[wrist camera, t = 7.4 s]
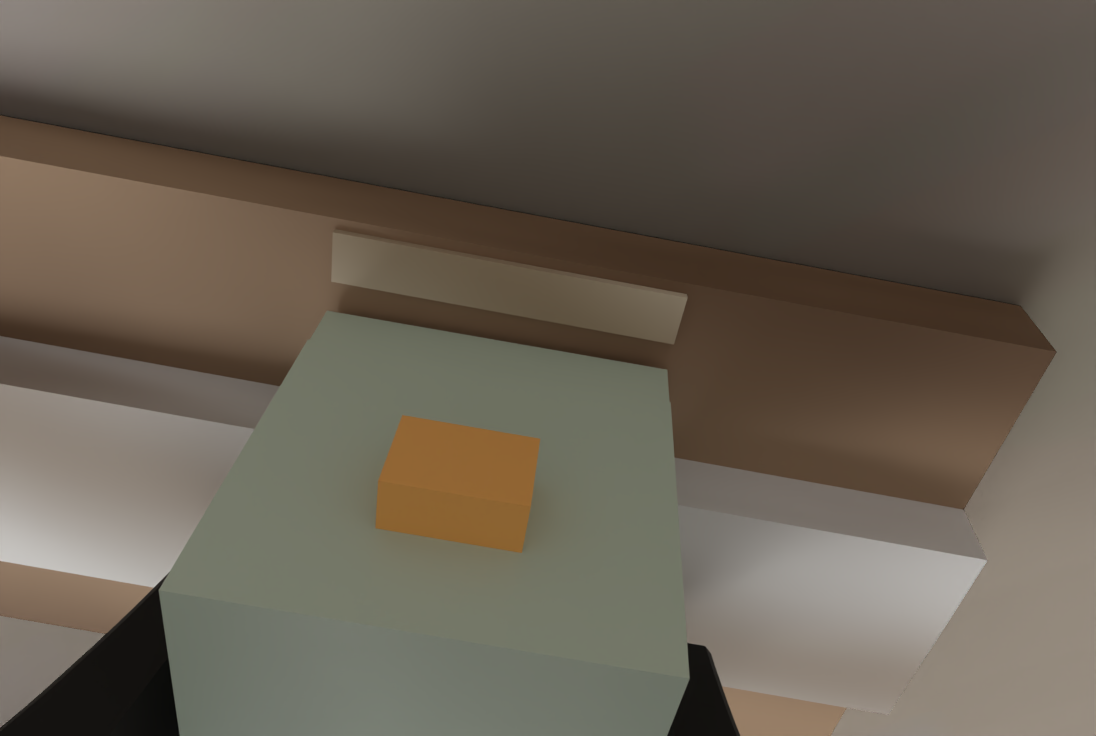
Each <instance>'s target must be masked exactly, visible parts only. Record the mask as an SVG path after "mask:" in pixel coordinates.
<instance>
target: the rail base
mask: <svg viewBox="0 0 1096 736" xmlns="http://www.w3.org/2000/svg"><path fill="white" fill-rule="evenodd" d="M326 311H332V312H338V313H344V314H350V315H355V316H361V317H367V318H373V319H378V320H384V321H390V322H396V323H401V324H407V325H413V326H419V327H424V328H430V329H436V330H442V331H447V332H453V333H459V334H465V335H471V336H476V337H482V338H488V339H494V340H499V341H505V342H511V343H517V344H522V345H528V346H534V347H540V348H545V349H551V350H557V351H563V352H568V353H574V354H580V355H586V356H591V357H597V358H603V359H609V360H614V361H620V362H626V363H632V364H638V365H643V366H649V367H655V368H661V369H666V370H667V372H668V387H669V402H671V414H672V429H673V443H674V458H675V473H676V487H677V502H678V516H679V531H680V545H681V560H682V575H683V589H684V604H685V618H686V633H687V643H691V644H697V645H702V646H706V648H707V649H708V650H709V652H710V653H711V655H712V658H713V661H714V664H715V667H716V670H717V673H718V676H719V679H720V682H721V685H722V688H723V691H724V693H725V696H726V699H727V702H728V705H729V707H730V710H731V713H732V715H733V718H734V721H735V723H736V726H737V728H738V731H739V734H740V736H830V735H831V734H832V732H833V730H834V729H835V727H836V725H837V724H838V722H839V720H840V718H841V717H842V715H843V713H844V712H845V710H846V708H850V709H856V710H862V711H868V712H873V713H879V714H885V715H889V714H890V712H891V711H892V709H893V708H894V706H895V704H896V703H897V701H898V700H899V698H900V697H901V695H902V694H903V692H904V690H905V689H906V687H907V686H908V684H909V683H910V681H911V679H912V678H913V676H914V675H915V673H916V672H917V670H918V668H919V667H920V665H921V664H922V662H923V661H924V659H925V658H926V656H927V654H928V653H929V651H930V650H931V648H932V647H933V645H934V643H935V642H936V640H937V639H938V637H939V636H940V634H941V632H942V631H943V629H944V628H945V626H946V625H947V623H948V622H949V620H950V618H951V617H952V615H953V614H954V612H955V611H956V609H957V607H958V606H959V604H960V603H961V601H962V600H963V598H964V596H965V595H966V593H967V592H968V590H969V589H970V587H971V586H972V584H973V582H974V581H975V579H976V578H977V576H978V575H979V573H980V571H981V570H982V568H983V567H984V565H985V564H986V562H987V558H986V556H985V554H984V552H983V549H982V547H981V545H980V543H979V541H978V539H977V537H976V535H975V533H974V531H973V528H972V526H971V524H970V522H969V520H968V518H967V516H966V514H965V512H964V508H965V506H966V505H967V503H968V501H969V500H970V498H971V496H972V494H973V493H974V491H975V489H976V488H977V486H978V484H979V483H980V481H981V479H982V478H983V476H984V474H985V472H986V471H987V469H988V467H989V466H990V464H991V462H992V461H993V459H994V457H995V455H996V454H997V452H998V450H999V449H1000V447H1001V445H1002V444H1003V442H1004V440H1005V438H1006V437H1007V435H1008V433H1009V432H1010V430H1011V428H1012V427H1013V425H1014V423H1015V422H1016V420H1017V418H1018V416H1019V415H1020V413H1021V411H1022V410H1023V408H1024V406H1025V405H1026V403H1027V401H1028V399H1029V398H1030V396H1031V394H1032V393H1033V391H1034V389H1035V388H1036V386H1037V384H1038V382H1039V381H1040V379H1041V377H1042V376H1043V374H1044V372H1045V371H1046V369H1047V367H1048V366H1049V364H1050V362H1051V360H1052V359H1053V357H1054V355H1055V354H1056V351H1055V349H1054V348H1053V347H1052V345H1051V344H1050V343H1049V342H1048V340H1047V339H1046V338H1045V337H1044V335H1043V334H1042V333H1041V331H1040V330H1039V329H1038V328H1037V326H1036V325H1035V324H1034V322H1033V321H1032V320H1031V319H1030V317H1029V316H1028V315H1027V314H1026V312H1025V311H1024V310H1023V308H1022V307H1021V306H1018V305H1013V304H1007V303H1002V302H997V301H991V300H986V299H981V298H975V297H970V296H964V295H959V294H954V293H948V292H943V291H938V290H932V289H927V288H922V287H916V286H911V285H906V284H900V283H895V282H890V281H884V280H879V279H873V278H868V277H863V276H857V275H852V274H847V273H841V272H836V271H831V270H825V269H820V268H815V267H809V266H804V265H798V264H793V263H788V262H782V261H777V260H772V259H766V258H761V257H756V256H750V255H745V254H740V253H734V252H729V251H724V250H718V249H713V248H707V247H702V246H697V245H691V244H686V243H681V242H675V241H670V240H665V239H659V238H654V237H649V236H643V235H638V234H632V233H627V232H622V231H616V230H611V229H606V228H600V227H595V226H590V225H584V224H579V223H574V222H568V221H563V220H558V219H552V218H547V217H541V216H536V215H531V214H525V213H520V212H515V211H509V210H504V209H499V208H493V207H488V206H483V205H477V204H472V203H466V202H461V201H456V200H450V199H445V198H440V197H434V196H429V195H424V194H418V193H413V192H408V191H402V190H397V189H391V188H386V187H381V186H375V185H370V184H365V183H359V182H354V181H349V180H343V179H338V178H333V177H327V176H322V175H317V174H311V173H306V172H300V171H295V170H290V169H284V168H279V167H274V166H268V165H263V164H258V163H252V162H247V161H242V160H236V159H231V158H225V157H220V156H215V155H209V154H204V153H199V152H193V151H188V150H183V149H177V148H172V147H167V146H161V145H156V144H151V143H145V142H140V141H134V140H129V139H124V138H118V137H113V136H108V135H102V134H97V133H92V132H86V131H81V130H76V129H70V128H65V127H59V126H54V125H49V124H43V123H38V122H33V121H27V120H22V119H17V118H11V117H6V116H1V115H0V616H5V617H11V618H17V619H23V620H28V621H34V622H40V623H46V624H52V625H58V626H63V627H69V628H75V629H81V630H87V631H92V632H98V633H104V634H106V633H108V632H109V631H110V630H111V629H112V628H113V627H114V626H115V625H116V624H117V623H118V622H119V621H120V620H121V619H122V618H123V617H124V616H125V615H126V614H127V613H129V612H130V611H131V610H132V609H133V608H134V607H135V606H136V605H137V604H138V603H139V602H140V601H141V600H142V599H143V598H144V597H145V596H146V595H147V594H148V593H149V592H150V591H151V590H152V589H153V588H154V587H155V586H156V585H157V584H158V583H159V582H160V581H161V580H162V579H163V578H164V577H165V576H166V575H167V574H168V573H169V572H170V570H171V569H172V567H173V565H174V564H175V562H176V560H177V559H178V557H179V555H180V553H181V552H182V550H183V548H184V547H185V545H186V543H187V542H188V540H189V538H190V537H191V535H192V533H193V532H194V530H195V528H196V527H197V525H198V523H199V522H200V520H201V518H202V517H203V515H204V513H205V511H206V510H207V508H208V506H209V505H210V503H211V501H212V500H213V498H214V496H215V495H216V493H217V491H218V490H219V488H220V486H221V485H222V483H223V481H224V480H225V478H226V476H227V475H228V473H229V471H230V469H231V468H232V466H233V464H234V463H235V461H236V459H237V458H238V456H239V454H240V453H241V451H242V449H243V448H244V446H245V444H246V443H247V441H248V439H249V438H250V436H251V434H252V433H253V431H254V429H255V427H256V426H257V424H258V422H259V421H260V419H261V417H262V416H263V414H264V412H265V411H266V409H267V407H268V406H269V404H270V402H271V401H272V399H273V397H274V396H275V394H276V392H277V391H278V389H279V387H280V385H281V384H282V382H283V380H284V379H285V377H286V375H287V374H288V372H289V370H290V369H291V367H292V365H293V364H294V362H295V360H296V359H297V357H298V355H299V354H300V352H301V350H302V348H303V347H304V345H305V343H306V342H307V340H310V338H311V337H312V335H313V333H314V332H315V330H316V328H317V327H318V325H319V323H320V322H321V320H322V318H323V316H324V315H325V313H326Z"/></svg>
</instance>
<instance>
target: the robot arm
mask: <svg viewBox="0 0 1096 736" xmlns="http://www.w3.org/2000/svg"><path fill="white" fill-rule="evenodd" d="M168 574H169V573H168ZM168 574H167V575H168ZM167 575H166V576H165V577H164V578H163V579H162V580H161V581H160V582H159V583H158V584H157V585H156V586H155V587H154V588H153V589H152V590H151V591H150V592H149V593H148V594H147V595H146V596H145V597H144V598H143V599H142V600H141V601H140V602H139V603H138V604H137V605H136V606H135V607H134V608H133V609H132V610H131V611H130V612H129V613H127V614H126V615H125V616H124V617H123V618H122V619H121V620H120V621H119V622H118V623H117V624H116V625H115V626H114V627H113V628H112V629H111V630H110V631H109V632H108V633H106V634H105V635H104V636H103V637H102V638H101V639H100V640H99V641H98V642H97V643H96V644H95V645H94V646H93V647H92V648H91V649H89V650H88V651H87V652H86V653H85V654H84V655H83V656H82V657H81V658H79V659H78V660H77V661H76V662H75V663H74V664H73V665H72V666H71V667H70V668H68V669H67V670H66V671H65V672H64V673H63V674H62V675H61V676H60V677H58V678H57V679H56V680H55V681H54V682H53V683H52V684H51V685H50V686H48V687H47V688H46V689H45V690H44V691H43V692H42V693H41V694H40V695H38V696H37V697H36V698H35V699H34V700H33V701H32V702H30V703H29V704H28V705H27V706H26V707H25V708H24V709H22V710H21V711H20V712H19V713H18V714H16V715H15V716H14V717H13V718H12V719H10V720H9V721H8V722H7V723H6V724H4V725H3V726H2V727H1V728H0V736H180V734H179V727H178V720H177V714H176V707H175V700H174V693H173V686H172V679H171V672H170V665H169V658H168V651H167V645H166V638H165V631H164V624H163V617H162V610H161V603H160V596H159V589H160V587H161V585H162V584H163V582H164V580H165V579H166V577H167ZM687 647H688V662H689V677H690V679H689V682H688V684H687V687H686V689H685V692H684V694H683V697H682V699H681V702H680V704H679V707H678V709H677V712H676V715H675V717H674V720H673V722H672V725H671V727H670V730H669V732H668V735H667V736H740V734H739V731H738V728H737V726H736V723H735V721H734V718H733V715H732V713H731V710H730V707H729V705H728V702H727V699H726V696H725V693H724V691H723V688H722V685H721V682H720V679H719V676H718V673H717V670H716V667H715V664H714V661H713V658H712V655H711V653H710V652H709V650H708V649H707V648H706V646H702V645H697V644H691V643H687Z"/></svg>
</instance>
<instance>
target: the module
mask: <svg viewBox="0 0 1096 736" xmlns="http://www.w3.org/2000/svg"><path fill="white" fill-rule="evenodd" d="M159 596H160V603H161V610H162V617H163V624H164V631H165V638H166V645H167V651H168V658H169V665H170V672H171V679H172V686H173V693H174V700H175V707H176V714H177V720H178V727H179V734H180V736H667V735H668V732H669V730H670V727H671V725H672V722H673V720H674V717H675V715H676V712H677V709H678V707H679V704H680V702H681V699H682V697H683V694H684V692H685V689H686V687H687V684H688V682H689V679H690V677H689V662H688V647H687V633H686V618H685V604H684V589H683V575H682V560H681V545H680V531H679V516H678V502H677V487H676V473H675V458H674V443H673V429H672V414H671V402H669V387H668V372H667V370H666V369H661V368H655V367H649V366H643V365H638V364H632V363H626V362H620V361H614V360H609V359H603V358H597V357H591V356H586V355H580V354H574V353H568V352H563V351H557V350H551V349H545V348H540V347H534V346H528V345H522V344H517V343H511V342H505V341H499V340H494V339H488V338H482V337H476V336H471V335H465V334H459V333H453V332H447V331H442V330H436V329H430V328H424V327H419V326H413V325H407V324H401V323H396V322H390V321H384V320H378V319H373V318H367V317H361V316H355V315H350V314H344V313H338V312H332V311H326V313H325V315H324V316H323V318H322V320H321V322H320V323H319V325H318V327H317V328H316V330H315V332H314V333H313V335H312V337H311V338H310V340H307V342H306V343H305V345H304V347H303V348H302V350H301V352H300V354H299V355H298V357H297V359H296V360H295V362H294V364H293V365H292V367H291V369H290V370H289V372H288V374H287V375H286V377H285V379H284V380H283V382H282V384H281V385H280V387H279V389H278V391H277V392H276V394H275V396H274V397H273V399H272V401H271V402H270V404H269V406H268V407H267V409H266V411H265V412H264V414H263V416H262V417H261V419H260V421H259V422H258V424H257V426H256V427H255V429H254V431H253V433H252V434H251V436H250V438H249V439H248V441H247V443H246V444H245V446H244V448H243V449H242V451H241V453H240V454H239V456H238V458H237V459H236V461H235V463H234V464H233V466H232V468H231V469H230V471H229V473H228V475H227V476H226V478H225V480H224V481H223V483H222V485H221V486H220V488H219V490H218V491H217V493H216V495H215V496H214V498H213V500H212V501H211V503H210V505H209V506H208V508H207V510H206V511H205V513H204V515H203V517H202V518H201V520H200V522H199V523H198V525H197V527H196V528H195V530H194V532H193V533H192V535H191V537H190V538H189V540H188V542H187V543H186V545H185V547H184V548H183V550H182V552H181V553H180V555H179V557H178V559H177V560H176V562H175V564H174V565H173V567H172V569H171V570H170V572H169V574H168V575H167V577H166V579H165V580H164V582H163V584H162V585H161V587H160V589H159Z"/></svg>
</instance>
